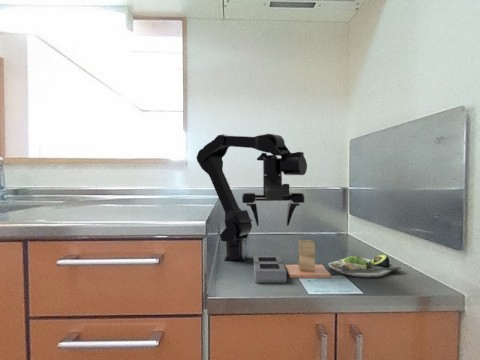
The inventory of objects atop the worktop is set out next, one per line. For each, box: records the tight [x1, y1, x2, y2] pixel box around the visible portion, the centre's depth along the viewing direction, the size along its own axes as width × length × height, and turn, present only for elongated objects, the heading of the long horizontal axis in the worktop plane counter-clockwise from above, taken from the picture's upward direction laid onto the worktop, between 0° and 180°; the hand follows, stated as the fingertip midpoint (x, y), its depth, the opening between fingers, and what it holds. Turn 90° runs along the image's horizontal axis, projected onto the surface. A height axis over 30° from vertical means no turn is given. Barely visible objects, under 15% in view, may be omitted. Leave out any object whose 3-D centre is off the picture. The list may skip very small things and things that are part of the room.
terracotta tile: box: [284, 264, 332, 279], centre depth 106 cm, size 11×11×1 cm
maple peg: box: [298, 239, 316, 271], centre depth 106 cm, size 4×4×8 cm
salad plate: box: [328, 254, 402, 278], centre depth 107 cm, size 19×18×5 cm
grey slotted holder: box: [252, 255, 287, 284], centre depth 105 cm, size 18×8×3 cm, turn 0°
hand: (272, 225), depth 115 cm, fingers open, 9 cm apart
